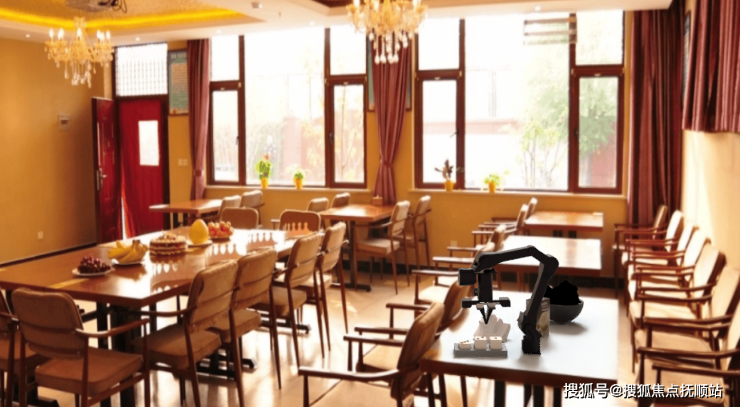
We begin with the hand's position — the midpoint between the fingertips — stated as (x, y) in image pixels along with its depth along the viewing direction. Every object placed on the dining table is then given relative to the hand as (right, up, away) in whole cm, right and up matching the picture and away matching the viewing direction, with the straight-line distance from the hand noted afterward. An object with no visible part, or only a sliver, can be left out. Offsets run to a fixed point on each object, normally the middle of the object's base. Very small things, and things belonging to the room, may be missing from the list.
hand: (486, 324), depth 261 cm
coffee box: (+26, -9, +23) cm, 35 cm away
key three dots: (-8, -11, +2) cm, 14 cm away
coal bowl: (+41, -7, +43) cm, 60 cm away
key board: (-2, -11, +1) cm, 12 cm away
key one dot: (+4, -10, +1) cm, 10 cm away
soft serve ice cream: (+5, -10, +18) cm, 21 cm away
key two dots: (-2, -10, +1) cm, 10 cm away
